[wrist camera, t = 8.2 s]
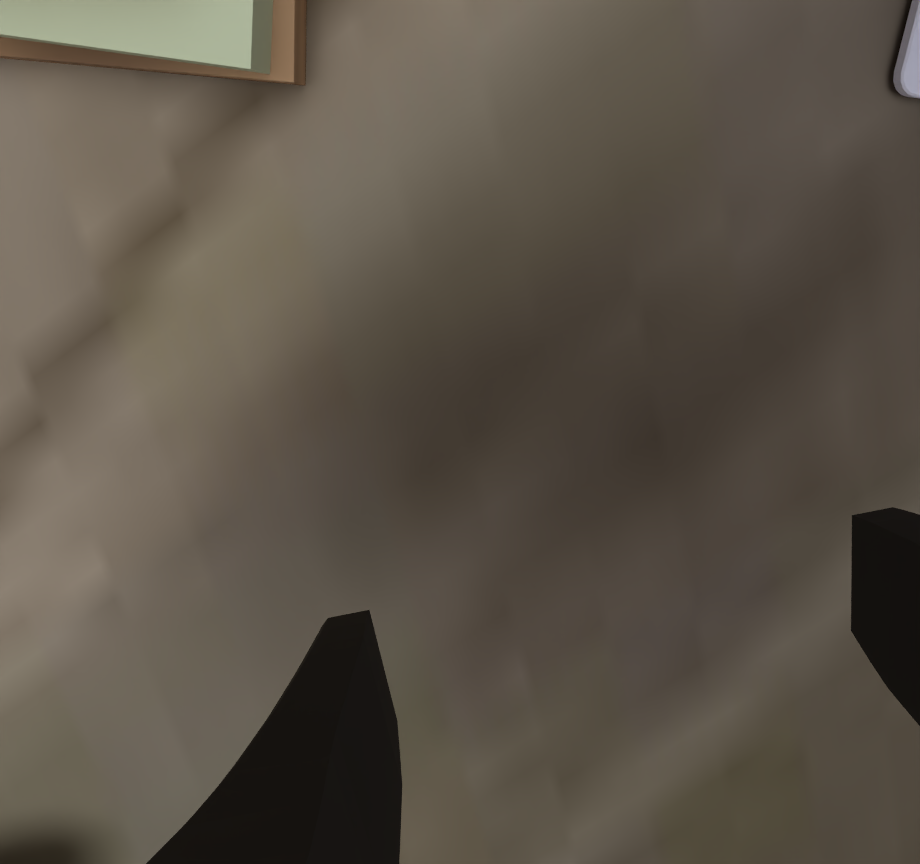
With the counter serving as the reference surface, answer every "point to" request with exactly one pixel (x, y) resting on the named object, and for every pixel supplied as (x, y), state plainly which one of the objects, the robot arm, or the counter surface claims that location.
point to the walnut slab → (283, 66)
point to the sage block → (151, 28)
